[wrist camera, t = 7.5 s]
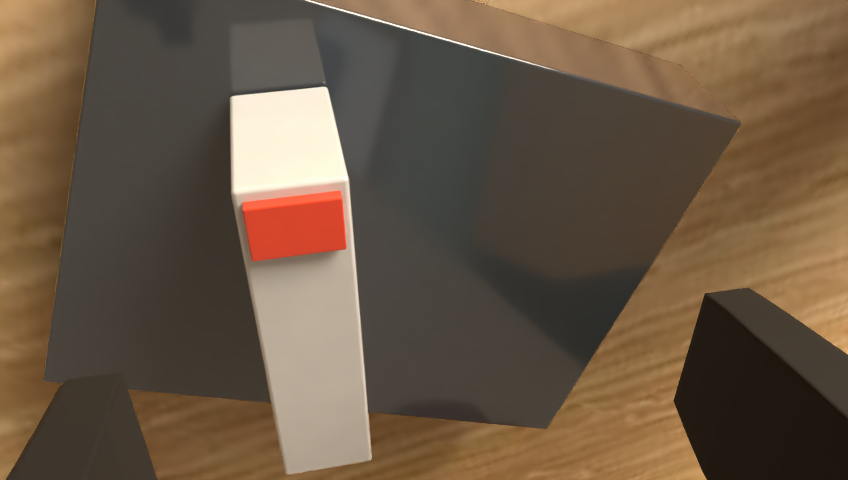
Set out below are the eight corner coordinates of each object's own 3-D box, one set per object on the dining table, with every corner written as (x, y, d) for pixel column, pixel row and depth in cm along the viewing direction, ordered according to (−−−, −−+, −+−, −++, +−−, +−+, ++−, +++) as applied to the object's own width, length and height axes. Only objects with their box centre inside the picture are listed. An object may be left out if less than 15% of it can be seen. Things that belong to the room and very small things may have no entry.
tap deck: (681, 64, 19) (743, 123, 17) (516, 354, 25) (547, 430, 22) (122, -108, 15) (103, -59, 12) (62, 295, 20) (41, 383, 18)
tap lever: (352, 352, 19) (374, 472, 16) (276, 364, 19) (285, 487, 16) (327, 84, 15) (351, 186, 12) (228, 94, 14) (229, 200, 12)
